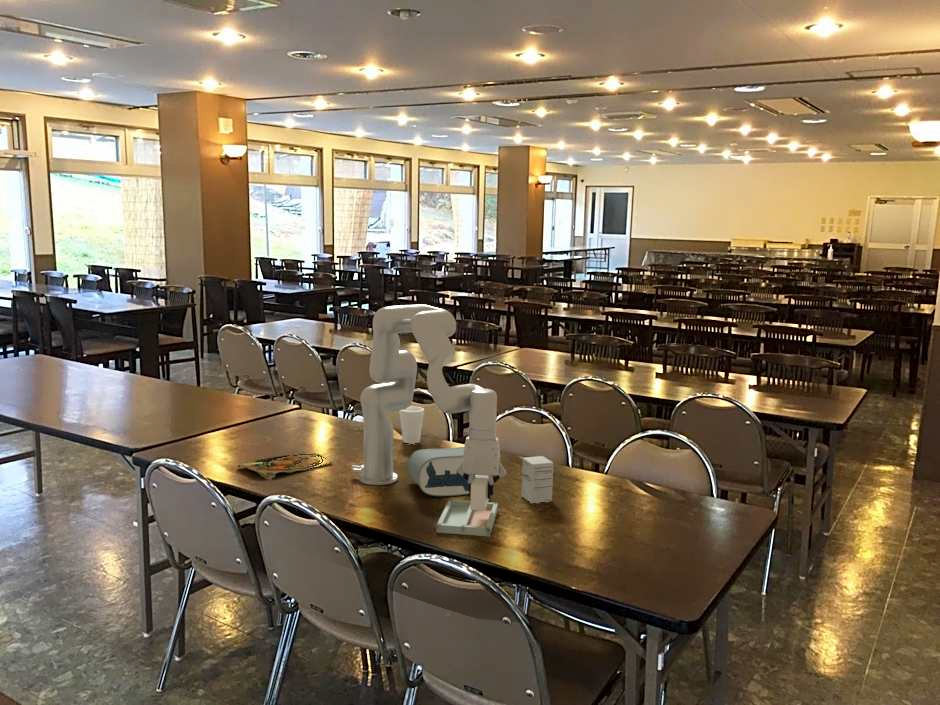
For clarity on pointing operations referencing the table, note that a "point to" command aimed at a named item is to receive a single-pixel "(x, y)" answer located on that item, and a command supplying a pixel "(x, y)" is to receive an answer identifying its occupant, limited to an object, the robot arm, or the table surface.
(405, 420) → the foam cup
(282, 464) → the prepared meal
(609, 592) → the table surface
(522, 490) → the stacked block tower
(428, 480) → the pencil case
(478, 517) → the divided serving tray
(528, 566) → the table surface
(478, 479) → the upright beige block
